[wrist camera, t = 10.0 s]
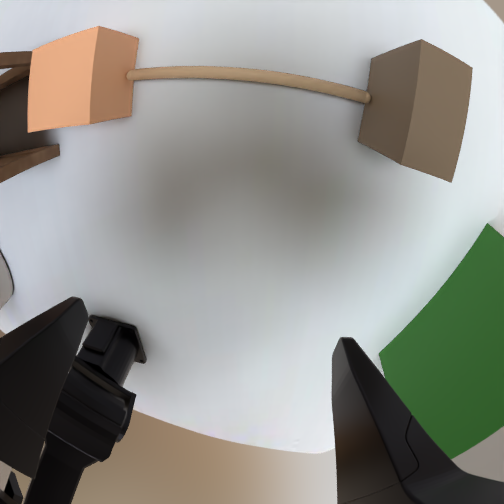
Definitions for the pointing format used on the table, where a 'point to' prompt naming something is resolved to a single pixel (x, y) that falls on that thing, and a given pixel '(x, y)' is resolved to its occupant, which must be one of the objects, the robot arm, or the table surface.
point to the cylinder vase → (4, 283)
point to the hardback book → (459, 361)
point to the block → (376, 98)
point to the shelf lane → (23, 160)
